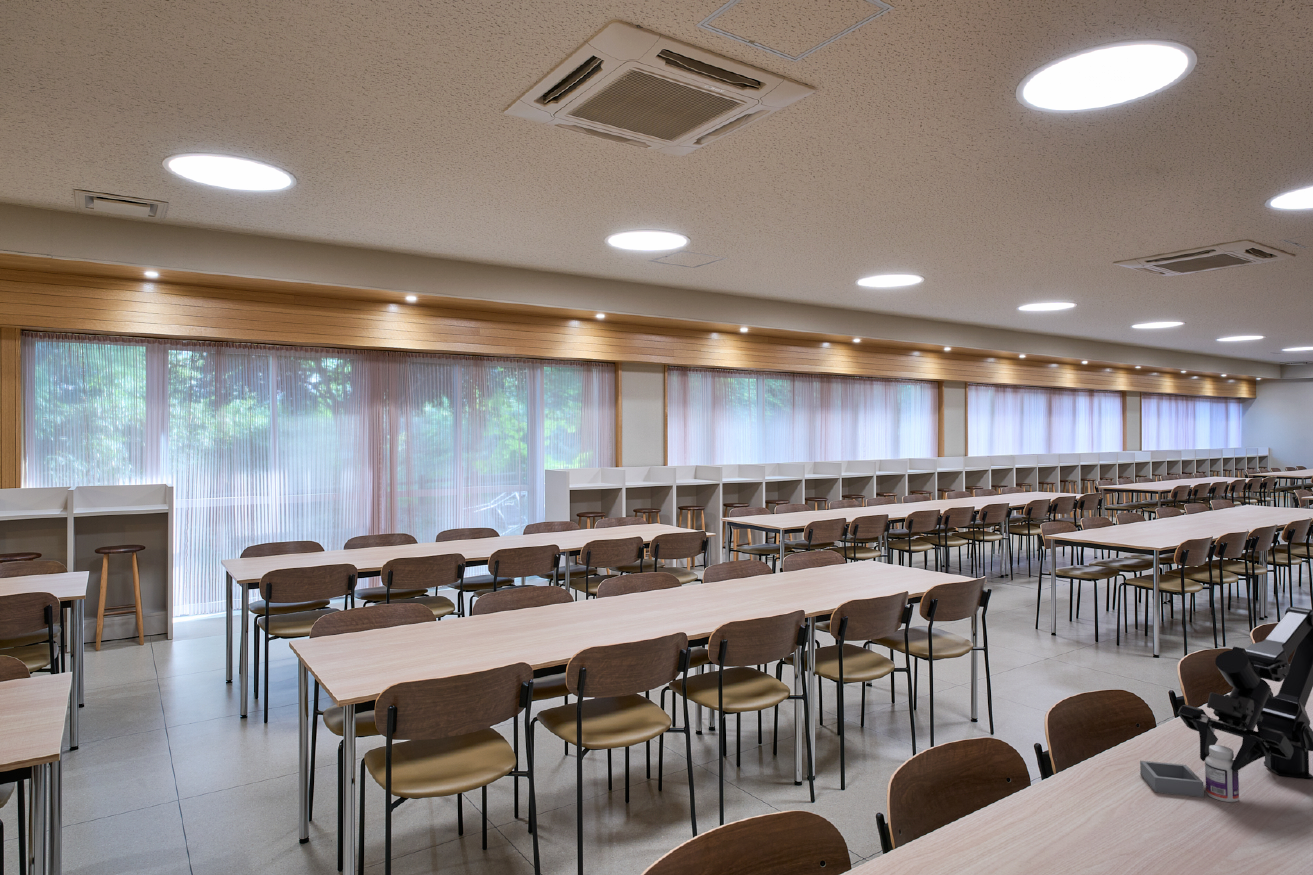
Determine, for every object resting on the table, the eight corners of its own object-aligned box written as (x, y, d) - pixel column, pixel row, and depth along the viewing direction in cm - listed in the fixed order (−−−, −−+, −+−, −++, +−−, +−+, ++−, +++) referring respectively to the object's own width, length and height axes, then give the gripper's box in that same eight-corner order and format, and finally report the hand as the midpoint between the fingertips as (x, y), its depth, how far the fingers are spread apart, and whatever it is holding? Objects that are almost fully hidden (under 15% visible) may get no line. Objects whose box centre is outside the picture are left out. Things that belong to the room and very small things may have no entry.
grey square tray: (1186, 778, 158) (1185, 764, 158) (1203, 797, 150) (1203, 782, 150) (1140, 774, 160) (1140, 760, 160) (1155, 792, 152) (1154, 777, 152)
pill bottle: (1227, 790, 152) (1226, 743, 152) (1245, 803, 147) (1244, 754, 147) (1199, 789, 153) (1198, 742, 153) (1216, 802, 147) (1215, 753, 148)
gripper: (1181, 666, 160) (1151, 726, 155) (1284, 691, 144) (1254, 759, 139) (1203, 697, 164) (1174, 756, 159) (1306, 725, 147) (1278, 792, 142)
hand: (1217, 765), depth 149 cm, fingers closed on pill bottle, 5 cm apart
